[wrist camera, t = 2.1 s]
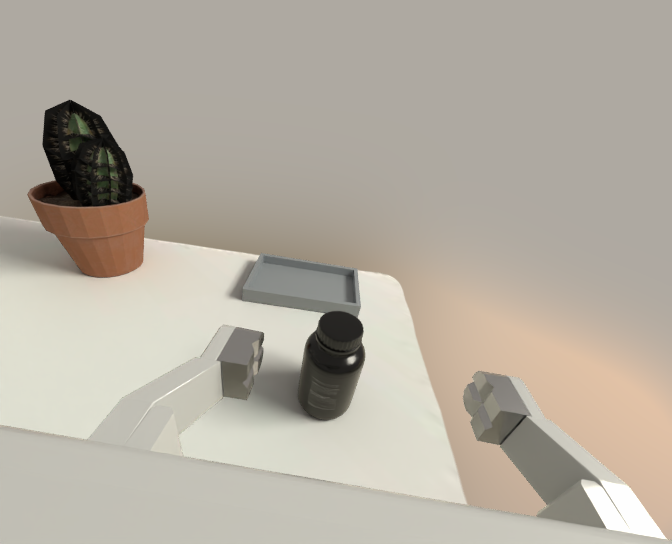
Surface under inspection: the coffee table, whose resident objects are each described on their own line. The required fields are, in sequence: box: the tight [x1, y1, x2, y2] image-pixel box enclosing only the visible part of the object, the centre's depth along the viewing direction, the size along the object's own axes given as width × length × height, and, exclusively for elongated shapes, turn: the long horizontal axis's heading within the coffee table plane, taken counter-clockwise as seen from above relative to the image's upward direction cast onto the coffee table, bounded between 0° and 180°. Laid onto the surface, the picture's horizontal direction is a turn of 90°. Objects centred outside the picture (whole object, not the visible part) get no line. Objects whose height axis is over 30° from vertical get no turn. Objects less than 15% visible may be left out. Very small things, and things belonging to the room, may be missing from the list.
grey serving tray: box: [242, 253, 361, 318], centre depth 52 cm, size 20×12×2 cm, turn 89°
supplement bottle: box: [298, 311, 365, 420], centre depth 32 cm, size 7×7×12 cm
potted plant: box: [28, 100, 149, 277], centre depth 42 cm, size 14×14×25 cm
